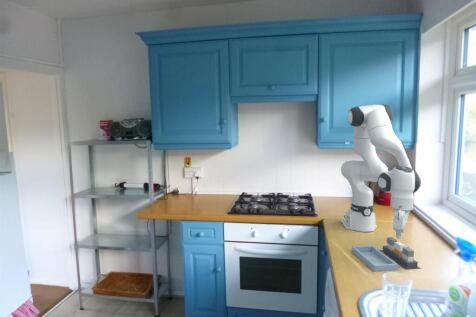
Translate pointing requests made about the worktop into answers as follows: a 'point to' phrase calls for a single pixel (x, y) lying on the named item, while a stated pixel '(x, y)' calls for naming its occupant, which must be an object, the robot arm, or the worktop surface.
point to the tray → (374, 258)
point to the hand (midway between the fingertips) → (399, 235)
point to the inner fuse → (391, 243)
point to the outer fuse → (408, 254)
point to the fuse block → (399, 259)
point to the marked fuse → (398, 248)
